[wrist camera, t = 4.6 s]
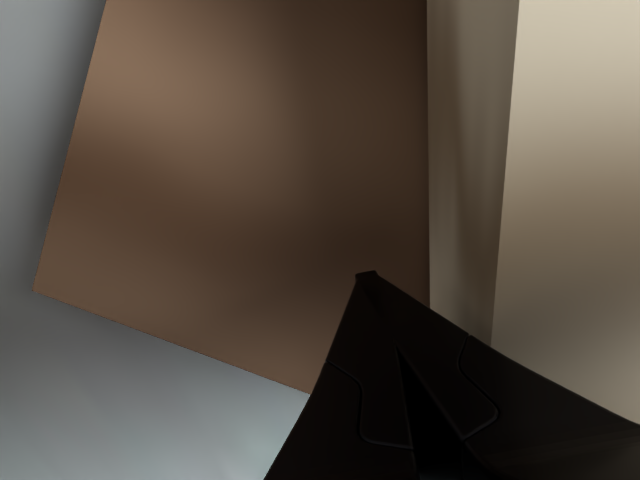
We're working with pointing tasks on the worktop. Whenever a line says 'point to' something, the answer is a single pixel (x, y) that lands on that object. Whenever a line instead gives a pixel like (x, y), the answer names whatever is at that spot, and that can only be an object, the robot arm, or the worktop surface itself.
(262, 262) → the seat board
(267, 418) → the worktop surface
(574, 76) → the leg
